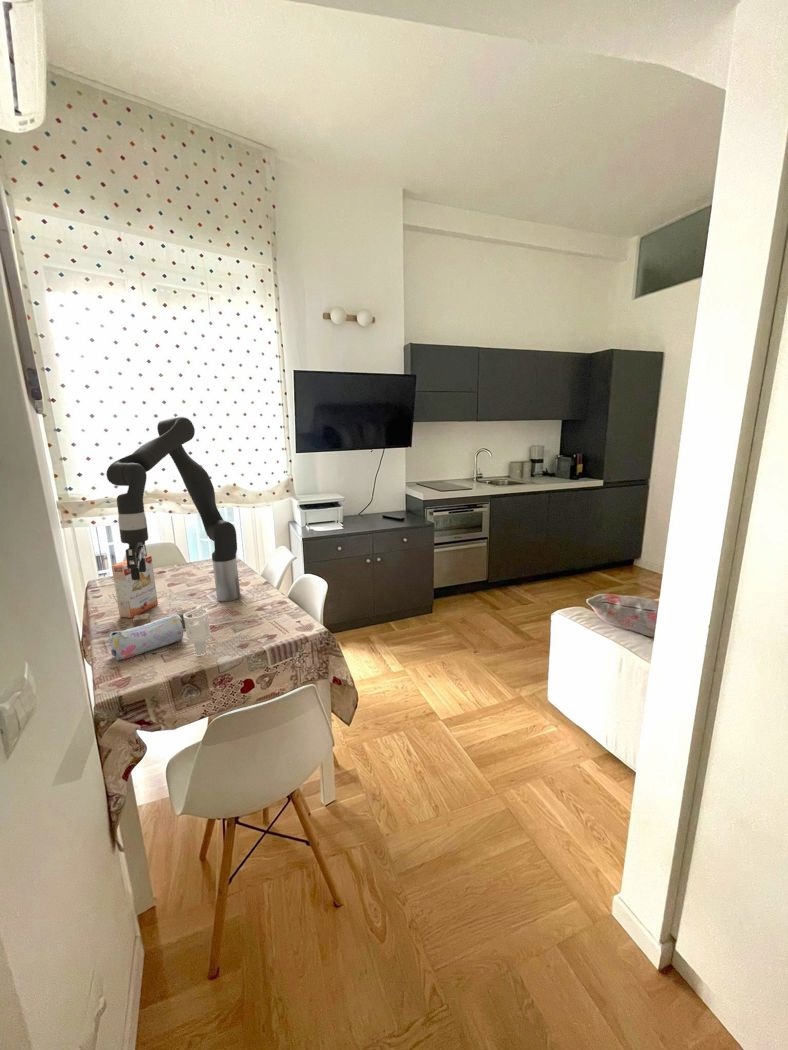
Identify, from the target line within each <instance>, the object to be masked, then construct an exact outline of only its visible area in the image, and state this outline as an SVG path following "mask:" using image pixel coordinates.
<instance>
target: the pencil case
mask: <svg viewBox="0 0 788 1050" xmlns="http://www.w3.org/2000/svg"><path fill="white" fill-rule="evenodd" d="M180 620H182V619H181V617H180V616H179V615H177V613H176V614H175V613H174V614H172V615H171V616H167V617H163V618H160V619H157V620H154V621H152V622H151V623H148V624H145V625H142V626H138V627H134V626H133V627H132V628H127V629H125V630H124V629H123V630H120V631H119V630H117V631H115V630H114V631H112V632H110V633H109V635H108V636H109V644H110V647H111V649H110V650H111V651H110V652H111V655H112V656H113V657H115V660H116V661H121V660H126V658H127V659H129V657H130V658H132V656H133V657H136V656H139V655H141V653H142V654H144V652H145V653H148V652H150V650H151V651H153V650H156V649H158V648H162V647H164V646H168V645H170V644H173V643H177V642H178V641H181V640H183V638H184V626H182V623H181V621H180ZM147 651H148V652H147ZM138 654H139V655H138ZM135 655H136V656H135Z"/></svg>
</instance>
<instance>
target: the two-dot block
mask: <svg viewBox="0 0 788 1050" xmlns="http://www.w3.org/2000/svg"><path fill="white" fill-rule="evenodd" d="M191 610H192V609H191V608H190V609H182V610H177V612H176V614H177V615H179V616H180V617H181V619H182V620H180V621H181V623H182V626H183V627H185V620H184V617H183V615H184V614H185V613H186V612H188V611H191ZM192 615H193V614H191V615H189V616H187V617H188V618H193V616H192Z"/></svg>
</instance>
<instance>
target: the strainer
mask: <svg viewBox="0 0 788 1050" xmlns="http://www.w3.org/2000/svg"><path fill="white" fill-rule="evenodd" d="M196 613H197V616H196V617H195V616H194V617H192V618H188V617H187V616H189V615H191V614H192V615H193V614H196ZM209 614H210V613H209V610H208V609H206V608H203V606H202V605H197V606H196V607H195V608H194V609H191V611H188V612H186V613H185V614H184V615H183V617H184V620H185V626H184V627H185V632H186V642H187V643H189V644H194V648H195V649H194V651H195V655H196V654H197V655H201V654H204V653H206V652H207V646H206V641H208V640H210V639H211V638H212V632H211V625H210V618H209ZM194 622H197V623H198V624H194ZM206 654H207V653H206Z"/></svg>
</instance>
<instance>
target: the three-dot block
mask: <svg viewBox="0 0 788 1050" xmlns="http://www.w3.org/2000/svg"><path fill="white" fill-rule="evenodd" d="M148 623H151V616H150V613H148V612H147V613H143V614H142V613H140V614H138V615H135V617H133V618H132V625H133V628H134V627H138V626H142V625H145V624H148Z"/></svg>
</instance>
